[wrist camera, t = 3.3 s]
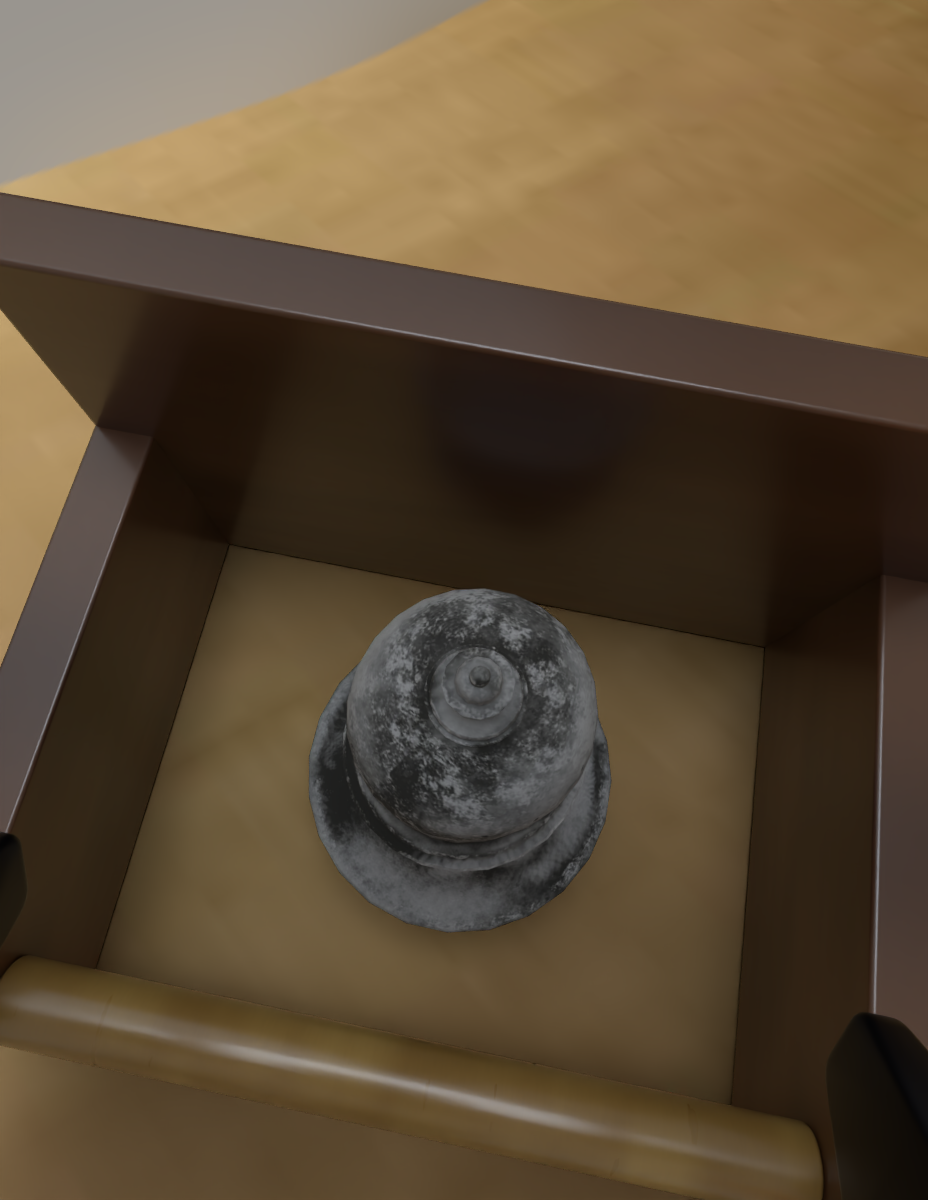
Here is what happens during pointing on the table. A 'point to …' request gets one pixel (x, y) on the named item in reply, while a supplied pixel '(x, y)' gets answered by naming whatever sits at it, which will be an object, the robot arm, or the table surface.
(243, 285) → the spice rack
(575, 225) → the table surface
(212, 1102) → the table surface
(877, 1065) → the robot arm
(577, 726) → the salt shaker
